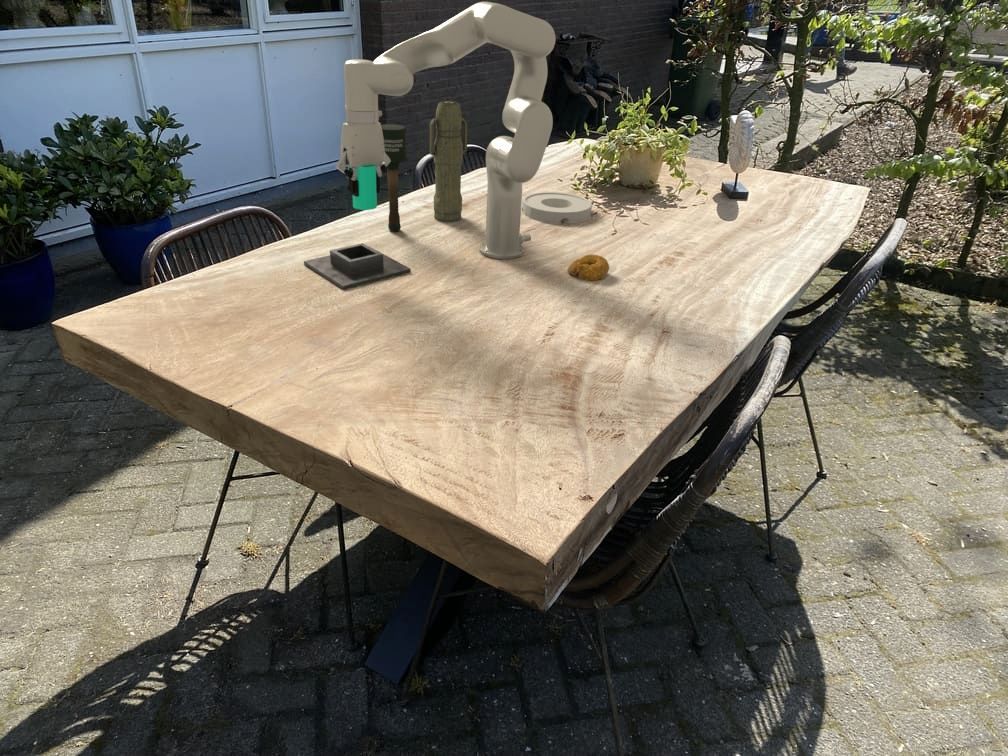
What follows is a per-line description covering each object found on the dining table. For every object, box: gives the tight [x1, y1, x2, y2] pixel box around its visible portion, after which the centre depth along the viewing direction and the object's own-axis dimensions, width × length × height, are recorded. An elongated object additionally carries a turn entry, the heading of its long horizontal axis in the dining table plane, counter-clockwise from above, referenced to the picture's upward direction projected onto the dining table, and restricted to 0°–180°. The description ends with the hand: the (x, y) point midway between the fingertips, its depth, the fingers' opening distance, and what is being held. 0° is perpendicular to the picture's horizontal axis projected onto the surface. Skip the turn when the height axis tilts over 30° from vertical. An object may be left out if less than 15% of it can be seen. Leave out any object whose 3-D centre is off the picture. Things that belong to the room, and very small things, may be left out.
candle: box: [351, 165, 378, 211], centre depth 174 cm, size 6×6×12 cm
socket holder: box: [303, 242, 412, 291], centre depth 184 cm, size 20×20×4 cm
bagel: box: [567, 254, 610, 282], centre depth 188 cm, size 10×11×5 cm
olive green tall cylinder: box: [428, 100, 468, 223], centre depth 216 cm, size 9×12×35 cm
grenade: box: [381, 123, 409, 233], centre depth 204 cm, size 8×9×30 cm
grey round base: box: [521, 191, 593, 224], centre depth 235 cm, size 23×23×4 cm
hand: (364, 192), depth 175 cm, fingers closed on candle, 5 cm apart
